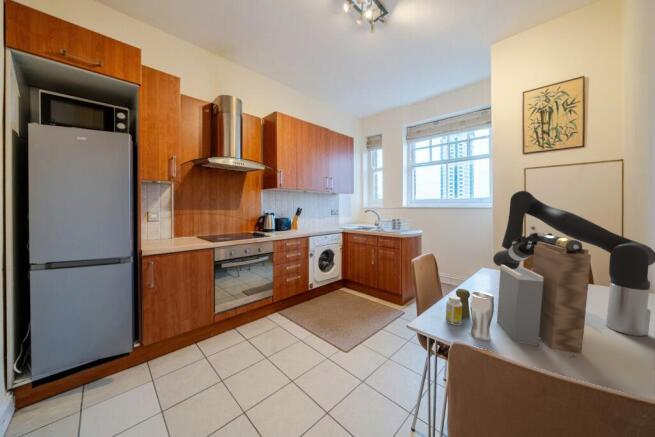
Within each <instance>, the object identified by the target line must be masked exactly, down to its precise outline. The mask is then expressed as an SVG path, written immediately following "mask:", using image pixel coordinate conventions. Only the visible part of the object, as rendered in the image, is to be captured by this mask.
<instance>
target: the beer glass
mask: <svg viewBox="0 0 655 437" xmlns="http://www.w3.org/2000/svg"><path fill="white" fill-rule="evenodd" d="M494 298H495V297H494V295H492V294H490V293H487V292H484V291H483V292H482V291H473V292H472V293H471V298H470V317H471V321H472V323H471V324H472V325H471V330H470V336H472V337H473V338H475V339H477V340H481V341H489V340H491V333H490V332H491V330H490V329H491V324H492V319H493V317H494V312H495V299H494Z"/></svg>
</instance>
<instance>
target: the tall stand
mask: <svg viewBox="0 0 655 437" xmlns="http://www.w3.org/2000/svg"><path fill="white" fill-rule="evenodd" d="M566 250H567V249H565V248H562V247H558V246H554V245H551V244H547V243H543V242H537V246H536V245H535V247H534V255H533V264H532V271H533V272H535V273H537V274H539V275H541V276H543V290H542V302H541V315H540V328H539V340H541V341H542V342H543V343H544V344H545V345H546V346H547V347H549V348H550V349H551V350H554V351H560V352H561V351H562V352H569V353H575V354H576V353H577V354H582V353H583V344H584V335H585V334H584V332H585V324H586V323H585V321H586V311H587V301H588V293H589V292H588V290H589V279H590V271H591V270H590V269H591V259H592V254H589V249H588V248H587V249H586V248H583V247H582V250H581V251H580V252H578V253H571V252H568V251H566Z"/></svg>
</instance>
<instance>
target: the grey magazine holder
mask: <svg viewBox="0 0 655 437" xmlns="http://www.w3.org/2000/svg"><path fill="white" fill-rule="evenodd" d="M542 290H543V276H541V275H539V274H537V273H535V272H533V270H531V269H529V268H526V267H525V266H523V265H519V266H518V268H517V269H510V268H508V267H507V266H505V265H501V266H500V271H499V288H498V298H497V299H498V302H497V313H496V314H497V317H496V323H497V324H498V325H499V326H500V328H501V329H502V330H503V331H504V332H505V333H506V334H507V335H508V337H509V338H510V339H511V341H513V342H514V343H521V344H529V345H536V346H539V340H540V338H539V328H540V315H541V302H542Z"/></svg>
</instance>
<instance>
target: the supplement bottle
mask: <svg viewBox="0 0 655 437" xmlns="http://www.w3.org/2000/svg"><path fill="white" fill-rule="evenodd" d="M445 303H446V306H445V307H446V308H445V321H446V322H447V323H448V324H450V325H453V326H461V324H462V319H463V318H462V303H461V302H460V298H459V297H457V295H449V296H448V300H446V302H445Z"/></svg>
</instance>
